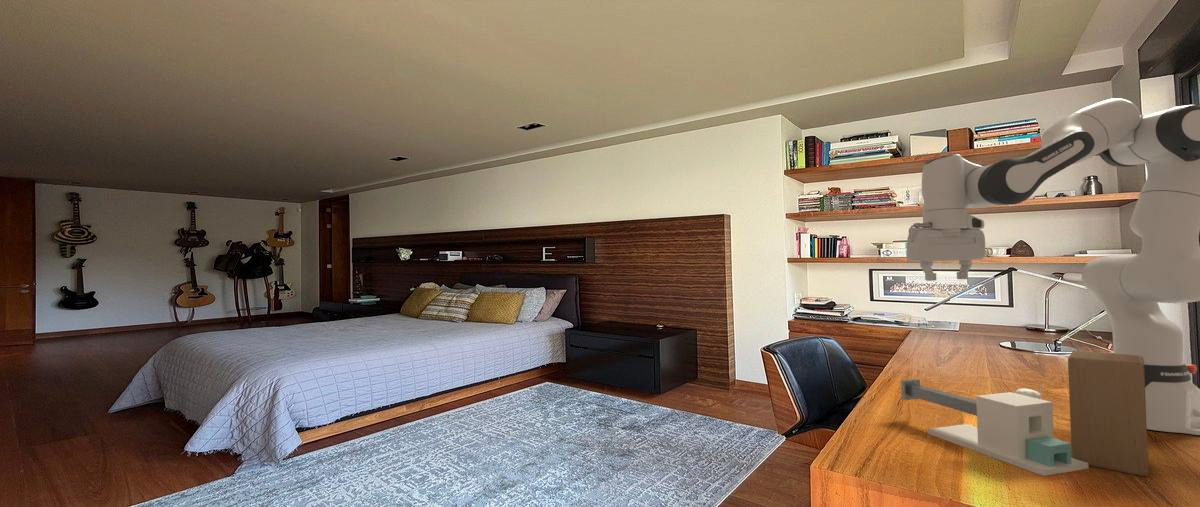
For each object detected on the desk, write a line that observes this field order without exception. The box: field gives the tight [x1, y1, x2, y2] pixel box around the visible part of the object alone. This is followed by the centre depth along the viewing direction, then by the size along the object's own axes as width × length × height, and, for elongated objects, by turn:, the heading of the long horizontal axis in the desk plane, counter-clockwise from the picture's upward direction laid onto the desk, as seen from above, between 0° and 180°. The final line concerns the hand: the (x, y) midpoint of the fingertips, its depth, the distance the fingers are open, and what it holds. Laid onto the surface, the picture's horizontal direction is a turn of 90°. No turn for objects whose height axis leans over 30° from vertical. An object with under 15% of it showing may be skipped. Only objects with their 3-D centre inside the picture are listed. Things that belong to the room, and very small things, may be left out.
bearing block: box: [927, 391, 1089, 477], centre depth 105 cm, size 11×24×11 cm, turn 14°
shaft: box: [900, 378, 977, 417], centre depth 115 cm, size 5×25×5 cm, turn 14°
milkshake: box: [1014, 384, 1044, 399], centre depth 116 cm, size 4×5×10 cm
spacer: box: [1027, 436, 1072, 467], centre depth 96 cm, size 5×4×4 cm
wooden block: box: [1067, 350, 1150, 477], centre depth 98 cm, size 10×10×20 cm
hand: (946, 280), depth 124 cm, fingers open, 8 cm apart
